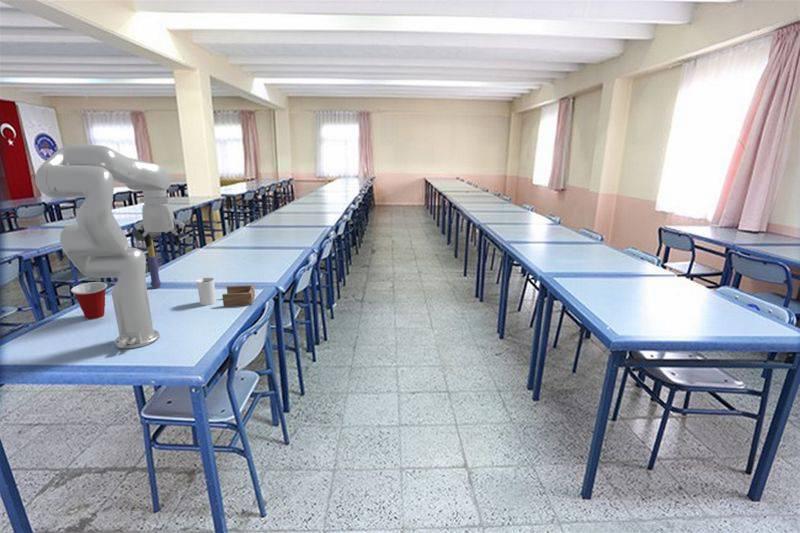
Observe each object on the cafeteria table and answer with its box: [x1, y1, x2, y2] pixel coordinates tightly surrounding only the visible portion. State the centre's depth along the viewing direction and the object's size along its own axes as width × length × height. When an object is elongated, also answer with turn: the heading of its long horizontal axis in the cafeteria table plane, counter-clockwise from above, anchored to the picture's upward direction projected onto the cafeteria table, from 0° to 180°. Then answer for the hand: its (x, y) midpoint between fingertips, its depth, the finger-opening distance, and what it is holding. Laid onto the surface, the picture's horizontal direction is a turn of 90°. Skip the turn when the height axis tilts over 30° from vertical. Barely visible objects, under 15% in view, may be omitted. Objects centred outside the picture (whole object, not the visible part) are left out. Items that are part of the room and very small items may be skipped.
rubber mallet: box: [132, 225, 163, 289], centre depth 184 cm, size 12×8×30 cm, turn 3°
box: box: [222, 284, 256, 307], centre depth 173 cm, size 11×11×5 cm
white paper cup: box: [196, 277, 216, 306], centre depth 169 cm, size 7×7×10 cm
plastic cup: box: [70, 281, 108, 320], centre depth 153 cm, size 11×11×12 cm
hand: (163, 245), depth 159 cm, fingers open, 9 cm apart
